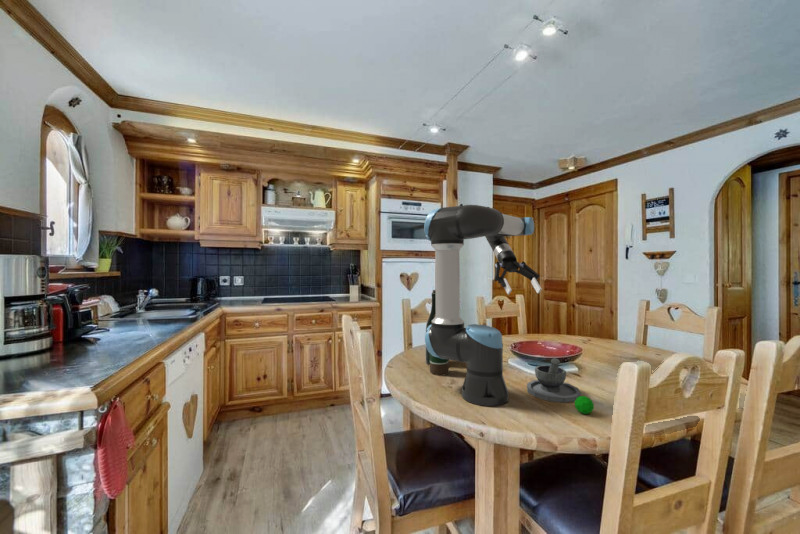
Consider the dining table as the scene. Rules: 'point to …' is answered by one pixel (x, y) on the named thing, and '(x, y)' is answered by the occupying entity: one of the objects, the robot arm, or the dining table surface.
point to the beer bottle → (438, 365)
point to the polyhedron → (584, 404)
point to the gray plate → (564, 395)
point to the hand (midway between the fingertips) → (524, 291)
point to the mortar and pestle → (551, 376)
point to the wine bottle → (429, 322)
